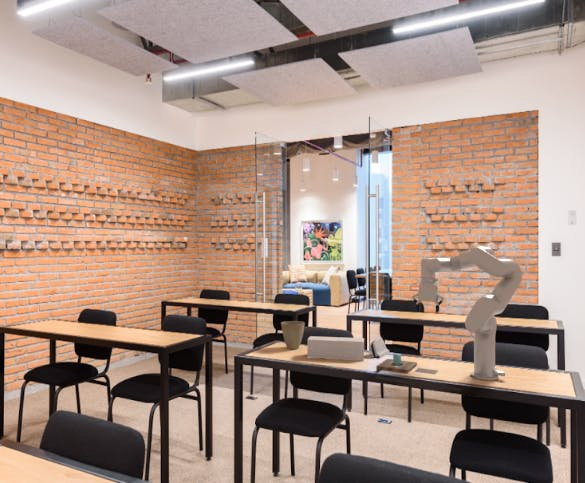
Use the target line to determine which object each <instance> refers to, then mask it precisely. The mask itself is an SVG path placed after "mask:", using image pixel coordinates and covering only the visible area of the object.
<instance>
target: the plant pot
mask: <svg viewBox="0 0 585 483" xmlns="http://www.w3.org/2000/svg"><path fill="white" fill-rule="evenodd" d="M305 325H306V324H305V322H304V321H300V320H299V321H298V320H292V321H290V320H289V321H282V322H281V323H280V326H281V331H282V332H281V333H282V336H283V340H284V343H285V346H286V348H287V349H288V350H298V349H300V346H301V343H302V339H303V336H304V331H305ZM297 348H298V349H297Z"/></svg>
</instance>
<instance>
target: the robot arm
mask: <svg viewBox="0 0 585 483" xmlns="http://www.w3.org/2000/svg"><path fill="white" fill-rule="evenodd" d="M474 267H477V268H479V269H480V270H482V271H483V272H485V273H486V274H488V275H489V276H492V277H494V278H501V279H500V280H499V282H498V283H496V285H495V287H494V288H493V290H492V291H491V293H489V295H483V296H481V297H479V298H478V299H477V300H476V301H475V302H474V304H473V306H472V308H471V309H470V311H469V313H468V314H467V316H466V317H465V321H464V326H465V329H466V330H467V331H468V332H469V333H471V334H473V335H474V337H473V338H474V339H473V371H471V373H470V377H472V378H474V379H477V380H480V381H496V380H498V379H499V376H500V377H506V371H505V372H504V371H503V370H497V367H496V333H497V328H498V327H497V326H498V322H497V318H496V317H495V316H496V315H499V314H500V315H501V314H502V313H503V312H504V311H505V309H506V308H507V306H508V304H509V303H510V301H511V300H512V298H513V296H514V295H515V292H517V290H518V289H519V287H520V285H521V283H522V280H523V272H522V268H521V266H520V264H519V263H517V262H516V261H515V260H513V259H509V258H508V259H507V258H500V259H499V258H497V257H496V253H495V251H494V250H493V249H492V248H490V247H488V246H475V247H472V248H471V249H470V250H463V251H461V252H460V253H459V254H458V255H455V256H451V257H437V258H431V257H430V258H427V257H423V258H421V259H420V282H419V285H418V291H417V292H418V293H416V294H412V296H411V298H412V300H413V302H414V303H415V304H416V310H417V313H418V312H421V303H422V302H425V303H428V302H431V303H434V304H435V313H436V314H438V313H439V312H440V305H441V304H443V302H444V300H445V297H444V296H442V295H440V294H439V291H438V289H439V288H438V284H437V283H436V282H439V279H437V278H436V273H449V272H455V271H459V270H464V269H469V268H474ZM416 297H417V299H416ZM439 299H440V300H439Z"/></svg>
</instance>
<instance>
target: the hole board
mask: <svg viewBox="0 0 585 483" xmlns="http://www.w3.org/2000/svg"><path fill="white" fill-rule="evenodd" d="M417 366H418V363H417V361H416V362H415V361H410V360H409V361H408V360H401V366H396V365H393V358H391V359H390V358H385V360H383V361H381V362H380V363H379V364H377V365H376V373H380V372H381V371H388V372H395V373H403V374H409V373H410V372H411V371H412V370H414V369H415V368H416V367H417Z"/></svg>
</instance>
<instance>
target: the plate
mask: <svg viewBox="0 0 585 483" xmlns="http://www.w3.org/2000/svg"><path fill="white" fill-rule="evenodd" d="M414 372H415V373H421V374H430V375H436V374H437V373H438V372H439V370H437V369H429V368H421V367H418V368H417V369H416V370H415V371H414Z"/></svg>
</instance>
